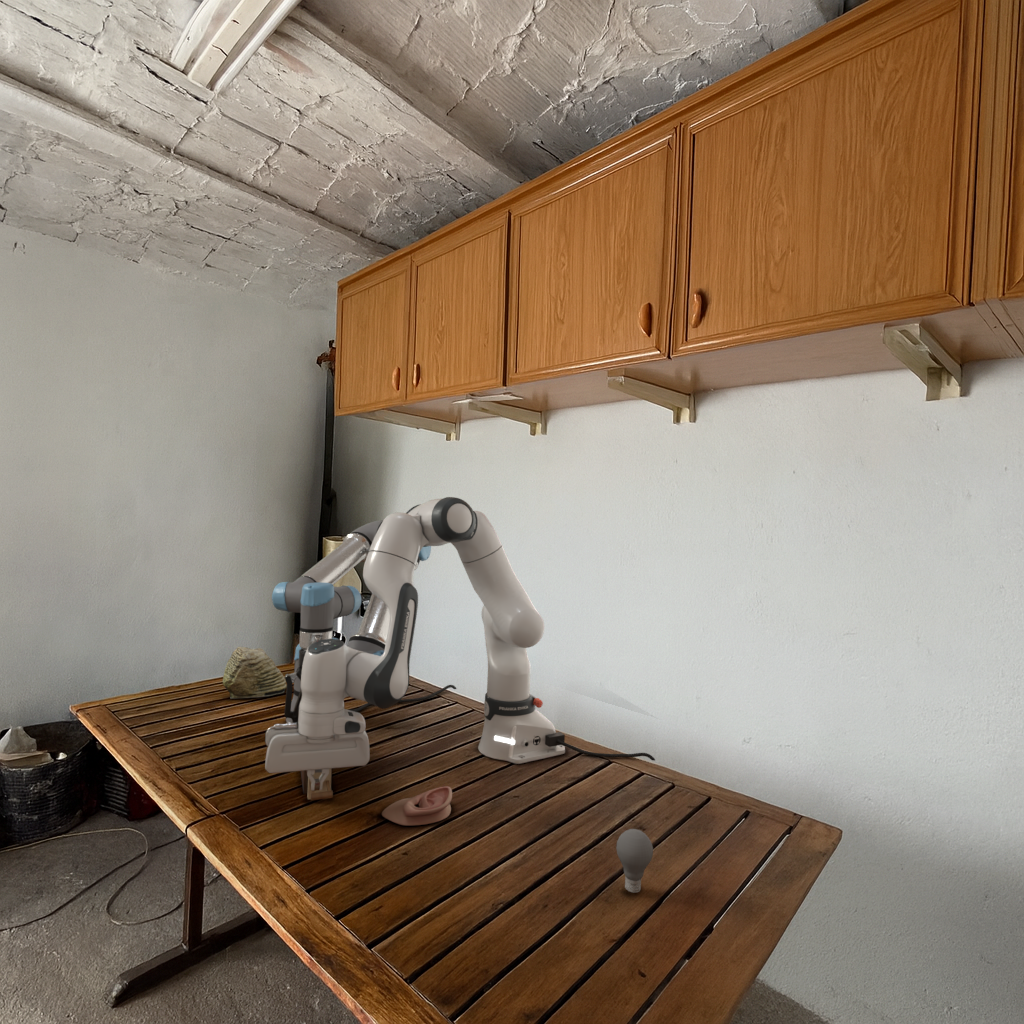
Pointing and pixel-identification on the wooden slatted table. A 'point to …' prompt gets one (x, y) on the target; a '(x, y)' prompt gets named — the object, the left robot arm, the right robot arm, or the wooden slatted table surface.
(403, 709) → the wooden slatted table surface
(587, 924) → the wooden slatted table surface
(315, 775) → the drawer
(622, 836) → the light bulb
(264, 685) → the fossil
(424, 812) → the anatomical model
